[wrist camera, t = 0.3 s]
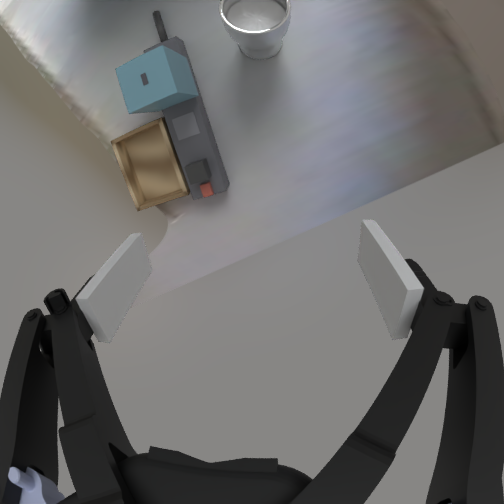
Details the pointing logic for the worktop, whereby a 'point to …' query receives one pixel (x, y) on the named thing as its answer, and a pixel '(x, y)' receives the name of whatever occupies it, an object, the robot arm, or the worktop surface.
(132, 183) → the tray
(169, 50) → the block
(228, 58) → the worktop surface
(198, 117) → the power strip
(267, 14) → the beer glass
